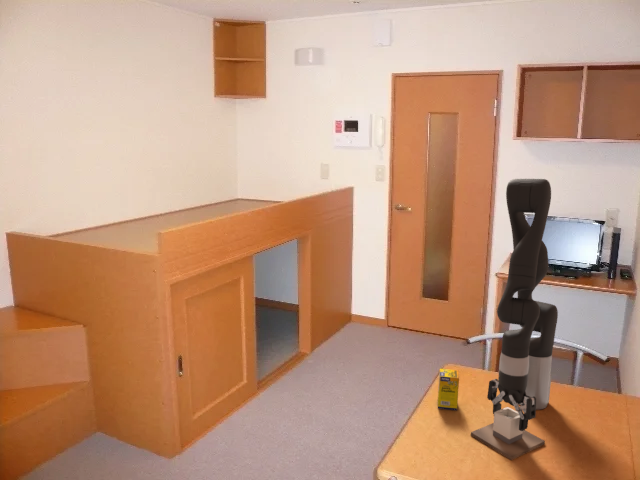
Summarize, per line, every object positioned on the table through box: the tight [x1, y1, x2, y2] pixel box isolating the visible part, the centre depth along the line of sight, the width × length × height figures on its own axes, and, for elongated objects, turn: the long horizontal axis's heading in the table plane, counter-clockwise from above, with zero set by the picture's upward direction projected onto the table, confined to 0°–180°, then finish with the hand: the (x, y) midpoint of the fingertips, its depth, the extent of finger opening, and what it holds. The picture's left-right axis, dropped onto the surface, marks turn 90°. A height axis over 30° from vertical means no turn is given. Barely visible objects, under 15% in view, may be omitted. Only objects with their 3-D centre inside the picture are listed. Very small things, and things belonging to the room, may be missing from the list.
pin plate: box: [470, 416, 546, 461], centre depth 155 cm, size 14×14×6 cm
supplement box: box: [437, 368, 460, 412], centre depth 174 cm, size 6×6×11 cm
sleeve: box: [493, 406, 523, 444], centre depth 155 cm, size 6×6×7 cm
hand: (509, 423), depth 155 cm, fingers open, 8 cm apart
